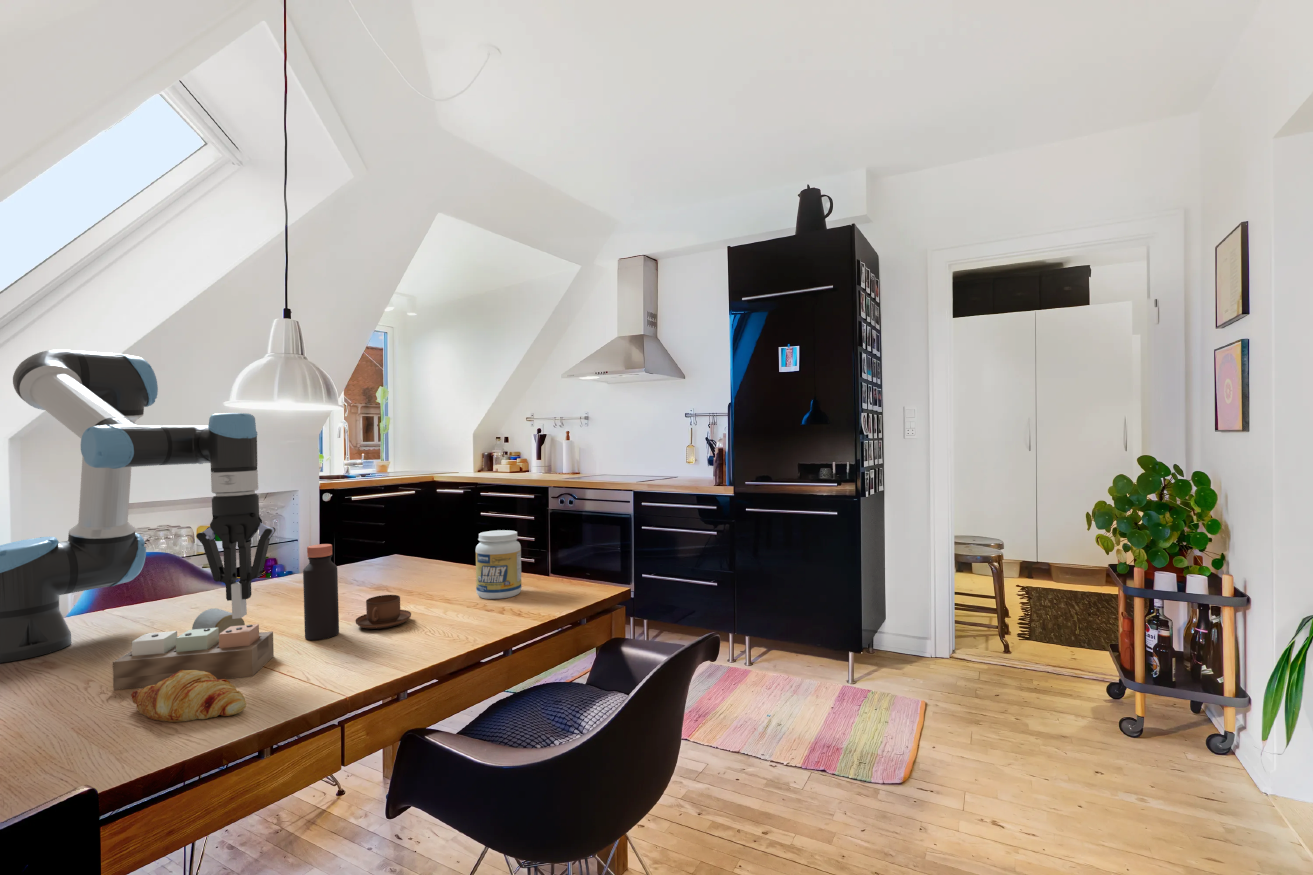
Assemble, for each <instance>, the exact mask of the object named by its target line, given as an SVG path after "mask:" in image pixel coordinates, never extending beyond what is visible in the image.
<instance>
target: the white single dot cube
mask: <svg viewBox="0 0 1313 875" xmlns="http://www.w3.org/2000/svg"><path fill="white" fill-rule="evenodd" d="M177 637H178V630H172V631H162V632H161V631H160V632H150V633H149V632H148V633H145V634H143V635H141V636H140V637H138V638H136V639H134V640H132V641H131V651H132V656H138V655H149V654H160V653H166V652H168V651H169V650H171V649H172V648H174V647H175V646H176V638H177Z"/></svg>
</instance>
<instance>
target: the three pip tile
mask: <svg viewBox="0 0 1313 875" xmlns="http://www.w3.org/2000/svg"><path fill="white" fill-rule="evenodd" d="M259 633H260V624H259V623H257V624H256V623H255V624H245V625H242V626H230V627H229V628H227V629H226V630H224V631H223V632H221V633H220V634H219V648H227V647H238V646H249V645H252V644H253V643H254V642H255V641H257V640H258V639H259Z"/></svg>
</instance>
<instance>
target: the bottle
mask: <svg viewBox="0 0 1313 875" xmlns="http://www.w3.org/2000/svg"><path fill="white" fill-rule="evenodd" d="M306 549H307V550H306V554H307V560H309V561H308V564H306V566H305V567H304V568H303V570H302V576H303V577H302V581H303V582H302V583H303V585H302V586H303V614H304V615H303V618H304V619H303V622H304V639H306V640H309V641H321V640H327V639H330V638H333V637H335V636H337V635H338V634H339V633H340V620H339V618H340V616H339V614H340V613H339V580H338V579H339V577H338V575H339V574H338V573H339V572H338V566H337V565H336V564H335V563H334V562H333V561H332V557H333V544H331V543H321V544H313V545H309V546H307V547H306Z"/></svg>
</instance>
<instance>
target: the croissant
mask: <svg viewBox="0 0 1313 875" xmlns="http://www.w3.org/2000/svg"><path fill="white" fill-rule="evenodd" d="M130 697H131V699H132V703H133V704H135V706H136V709H137V711H138V712H139V713H140V714H141V715H143V716H145V717H147V718H148V719H151V720H154V721H159V722H161V721H164V722H169V723H180V722H181V723H182V722H189V721H195V720H207V719H211V718H217V717H219V716H223V717H229V716H233V715H237V714H240V713H241V712H243V711H244V710H245V709H246V707H247V701H246V697H245V695H243V693H242V692H241V691H239V690H238V689H237V688H236V686H235V685H234V684H232V683H231V682H230V681H229V679H218V680H217V679H216V677H215V676H213V675H212V674H211V673H209V672H206V671H198V670H180V671H179V672H177V673H175V674H173V675H171V676H170V677H169V678H166V679H163V680H162V681H161V682H158V683H157V684H156V685H150V686H147V687H143V688H140V689H137V690H134V691H132V692H131V696H130Z"/></svg>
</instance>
